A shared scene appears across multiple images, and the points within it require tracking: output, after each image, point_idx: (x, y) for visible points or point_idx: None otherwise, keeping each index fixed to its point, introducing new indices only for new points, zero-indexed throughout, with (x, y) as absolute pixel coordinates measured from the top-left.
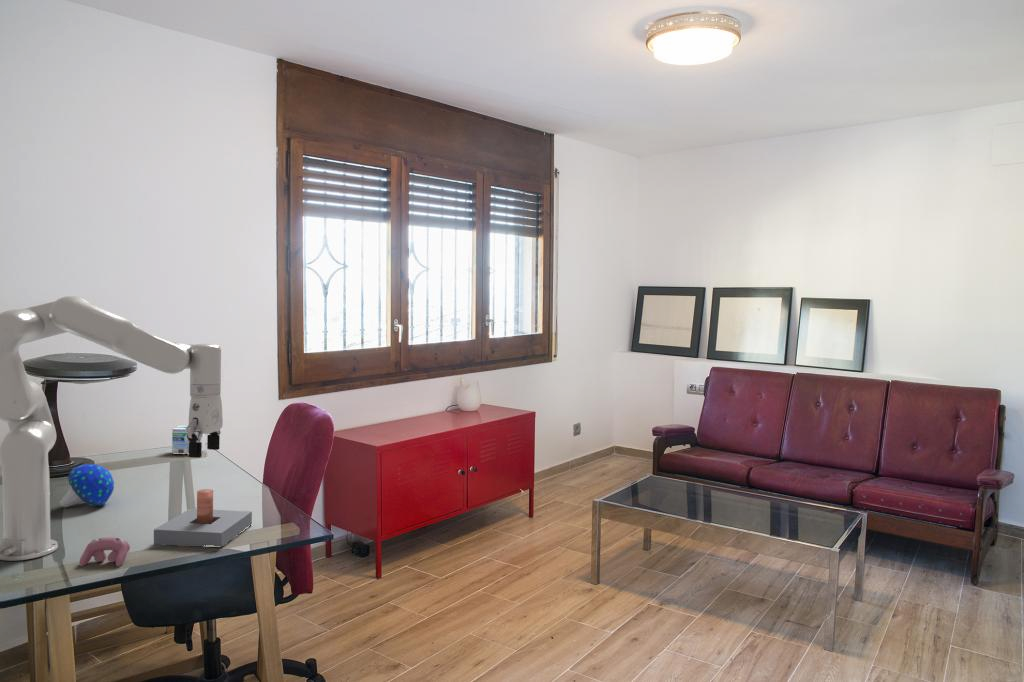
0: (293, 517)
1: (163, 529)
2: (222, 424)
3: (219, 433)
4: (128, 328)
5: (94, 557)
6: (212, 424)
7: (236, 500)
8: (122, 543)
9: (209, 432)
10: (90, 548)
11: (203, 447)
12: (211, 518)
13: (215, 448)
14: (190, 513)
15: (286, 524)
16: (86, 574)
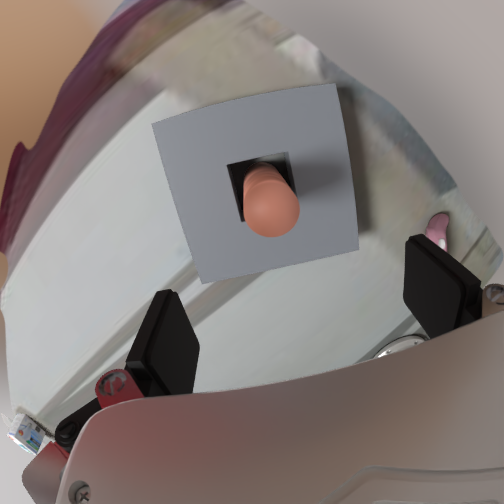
0: (82, 85)
1: (354, 230)
2: (82, 436)
3: (108, 380)
4: None
5: None
6: (473, 437)
7: (63, 277)
8: (445, 235)
9: (486, 320)
10: None
11: (16, 417)
12: (264, 167)
13: (180, 306)
14: (232, 257)
15: (126, 60)
16: (463, 235)
